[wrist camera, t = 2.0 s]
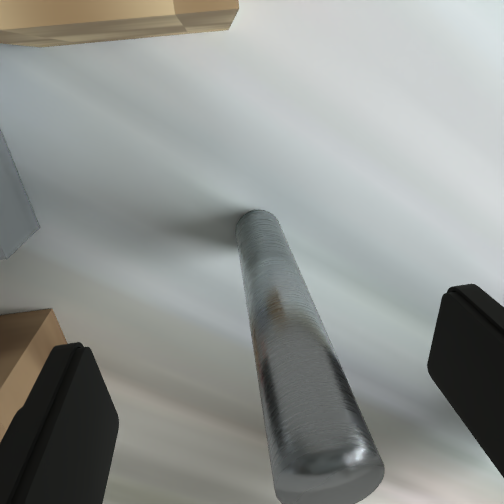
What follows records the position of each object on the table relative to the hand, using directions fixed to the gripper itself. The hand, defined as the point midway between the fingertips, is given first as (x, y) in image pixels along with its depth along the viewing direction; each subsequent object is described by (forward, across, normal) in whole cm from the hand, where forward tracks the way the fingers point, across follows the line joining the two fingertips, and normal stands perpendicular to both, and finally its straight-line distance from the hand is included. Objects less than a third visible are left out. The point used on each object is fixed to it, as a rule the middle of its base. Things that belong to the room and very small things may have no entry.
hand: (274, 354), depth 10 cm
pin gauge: (+9, -1, +1) cm, 9 cm away
